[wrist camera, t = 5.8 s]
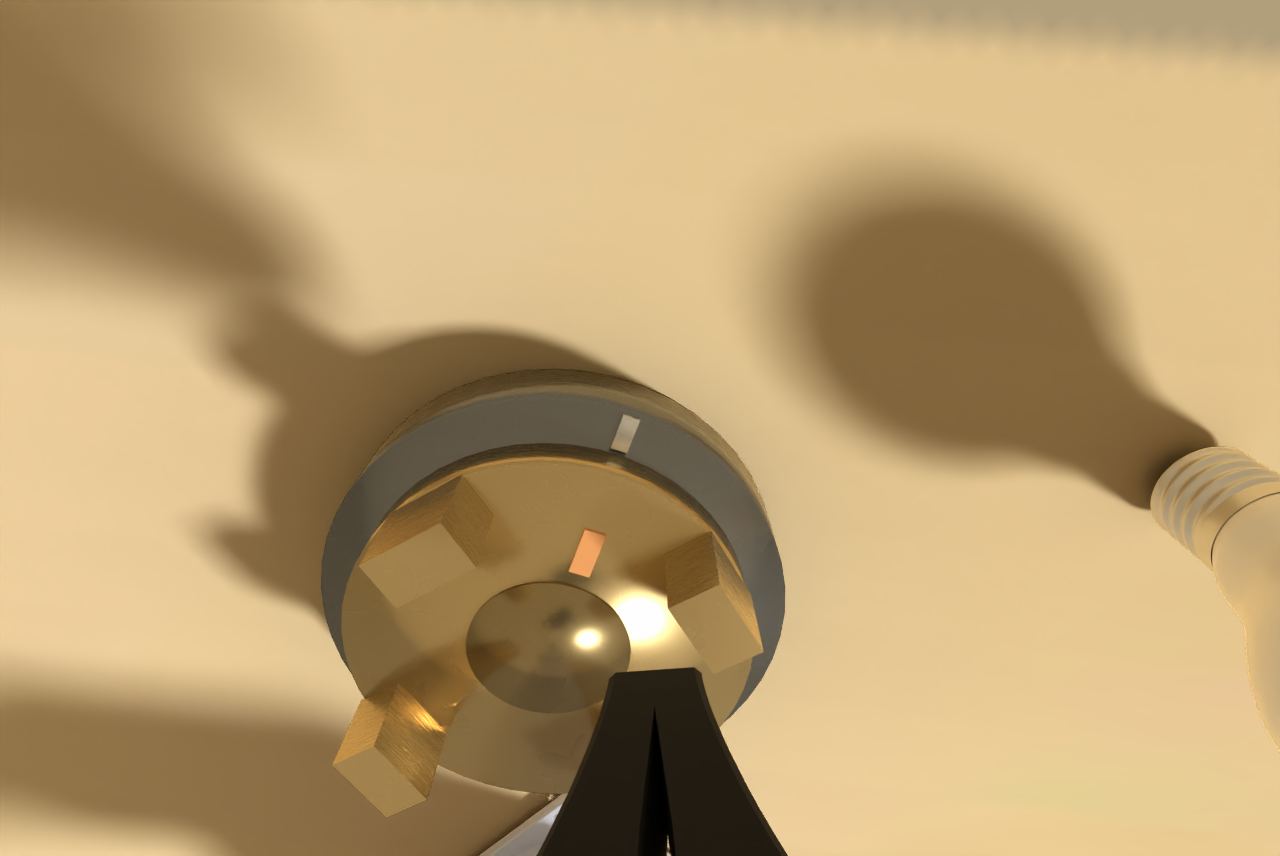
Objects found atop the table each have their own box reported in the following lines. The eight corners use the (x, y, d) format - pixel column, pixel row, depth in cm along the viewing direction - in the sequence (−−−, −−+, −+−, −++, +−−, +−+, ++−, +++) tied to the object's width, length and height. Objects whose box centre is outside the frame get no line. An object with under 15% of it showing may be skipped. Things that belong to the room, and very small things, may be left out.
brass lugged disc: (302, 672, 20) (246, 771, 17) (456, 368, 17) (417, 428, 14) (626, 802, 22) (625, 910, 19) (825, 557, 19) (859, 644, 16)
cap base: (572, 780, 25) (567, 837, 23) (263, 567, 22) (227, 614, 20) (859, 567, 22) (880, 614, 20) (546, 270, 18) (536, 293, 16)
